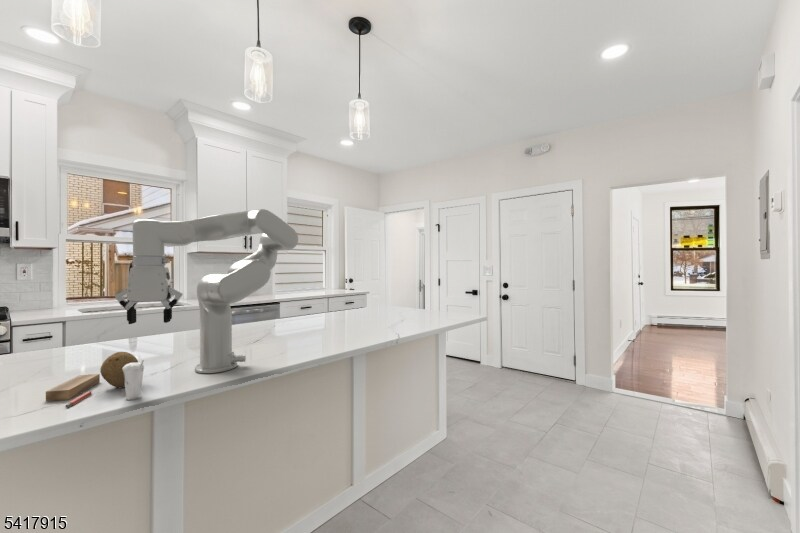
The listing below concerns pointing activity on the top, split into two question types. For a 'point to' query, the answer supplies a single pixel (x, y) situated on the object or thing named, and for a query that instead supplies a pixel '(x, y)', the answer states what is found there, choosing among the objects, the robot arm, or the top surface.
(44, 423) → the top surface
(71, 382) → the batten
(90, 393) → the carpenter pencil
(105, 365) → the coconut
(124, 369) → the milkshake
